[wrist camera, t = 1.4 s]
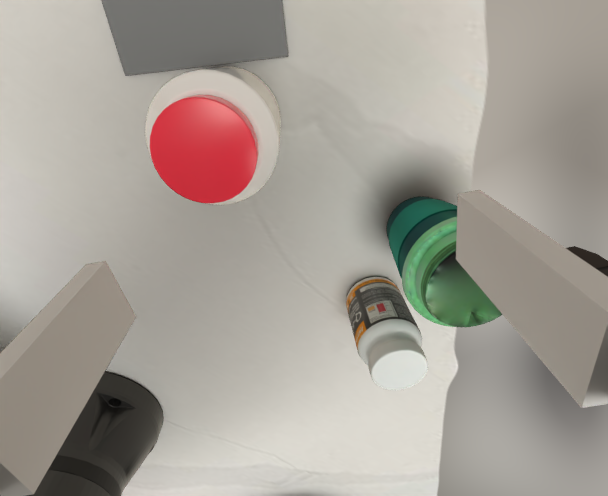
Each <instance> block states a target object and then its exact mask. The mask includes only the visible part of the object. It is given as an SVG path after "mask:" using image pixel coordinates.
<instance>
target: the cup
mask: <svg viewBox="0 0 608 496" xmlns="http://www.w3.org/2000/svg"><path fill="white" fill-rule="evenodd" d="M387 236H388V239H389V245H390V248H391V251H392V254H393V257H394V259H395V262H396V265H397V268H398V271H399V274H400V276H401V278H402V284H403V289H404V292H405V295H406V297H407V299H408V301H409V302H410V304H411V305H412V306H413V307H414V309H415V310H416V311H417V312H418V313H419V314H420V315H422V316H423V317H425V318H426V319H428V320H430V321H432V322H434V323H437V324H440V325H444V326H451V327H471V326H477V325H481V324H484V323H487V322H490V321H492V320H494V319H496V318H498V317H499V316H501V315H502V313H501V312H500V311H499V310H498V308H497V307H496V306H495V305H494V304H493V303H492V301H491V300H490V299H489V298H488V297H487V295H486V294H485V293H484V292H483V291H482V290H481V288H480V287H479V286H478V285H477V284H476V282H475V281H474V280H473V279H472V278H471V277H470V275H469V274H468V273H467V272H466V271H465V269H464V268H463V267H462V266H461V265H460V264H459V262H458V261H457V260H456V237H457V206H456V205H453V204H450V203H447V202H445V201H442V200H438V199H433V198H429V197H414V198H411V199H408V200H406V201H404V202H402V203H401V204H400V205H398V206H397V207H396V208H395V209H394V211H393V212H392V214H391V215H390V217H389V220H388V224H387Z"/></svg>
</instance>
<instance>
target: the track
mask: <svg viewBox="0 0 608 496" xmlns="http://www.w3.org/2000/svg"><path fill="white" fill-rule="evenodd" d="M102 4H103V7H104V10H105V13H106V16H107V19H108V23H109V26H110V29H111V32H112V35H113V38H114V42H115V45H116V48H117V51H118V54H119V57H120V61H121V64H122V67H123V70H124V73H125V76H129V75H137V74H145V73H154V72H162V71H170V70H179V69H187V68H195V67H204V66H212V65H220V64H229V63H237V62H245V61H254V60H262V59H270V58H279V57H287V56H288V49H287V40H286V31H285V22H284V13H283V4H282V0H102Z"/></svg>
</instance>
